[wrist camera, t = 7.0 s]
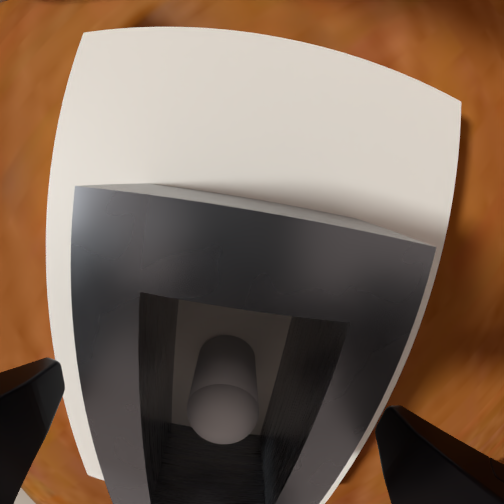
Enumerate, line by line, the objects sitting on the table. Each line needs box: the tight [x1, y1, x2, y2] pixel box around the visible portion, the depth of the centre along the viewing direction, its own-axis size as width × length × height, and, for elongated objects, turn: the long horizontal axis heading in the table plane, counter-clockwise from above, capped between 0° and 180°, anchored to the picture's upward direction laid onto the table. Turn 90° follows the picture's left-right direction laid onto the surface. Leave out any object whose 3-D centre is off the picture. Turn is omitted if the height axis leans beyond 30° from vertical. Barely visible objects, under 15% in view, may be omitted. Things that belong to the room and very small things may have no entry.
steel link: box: [71, 183, 436, 504], centre depth 7 cm, size 10×6×4 cm, turn 170°
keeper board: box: [46, 27, 461, 504], centre depth 8 cm, size 20×13×5 cm, turn 171°
